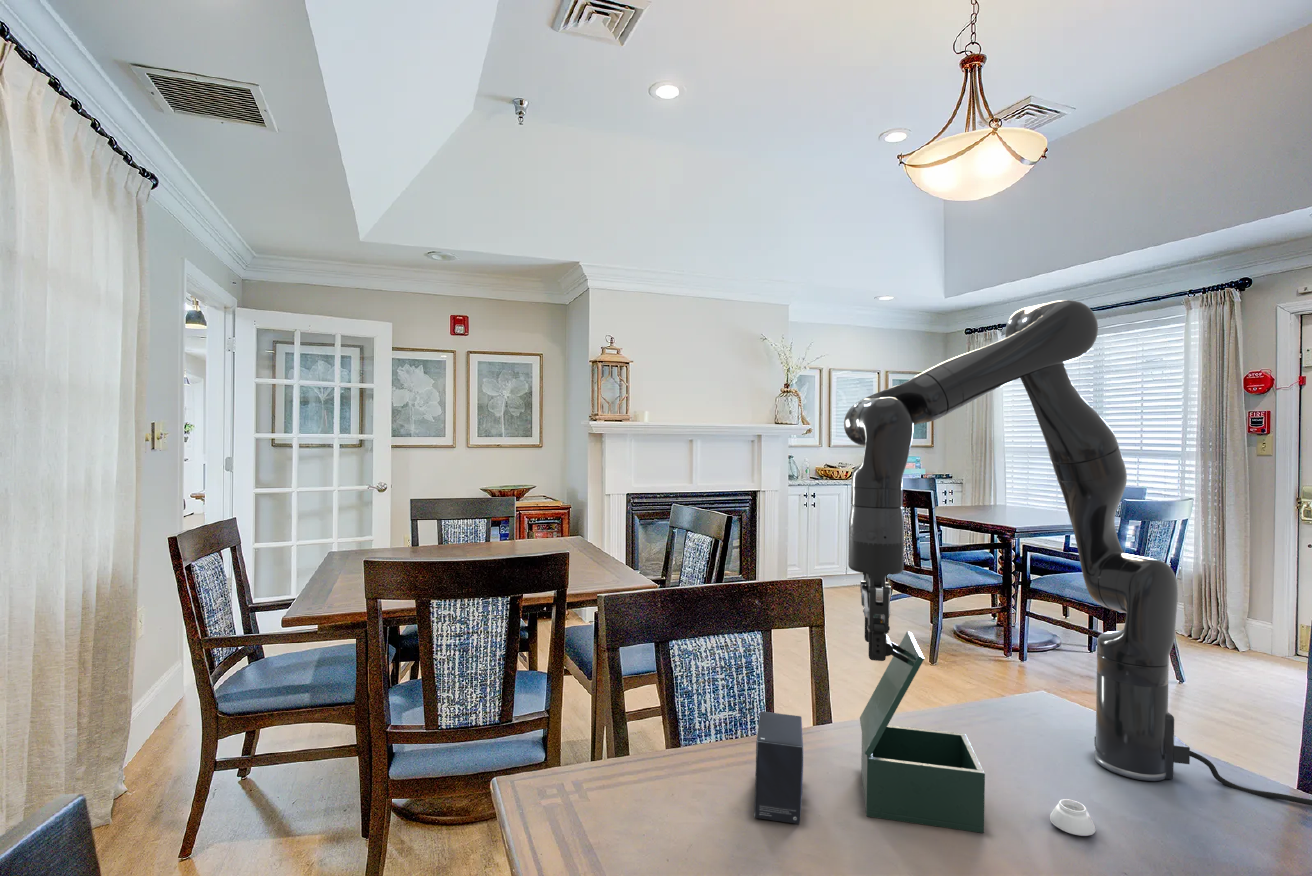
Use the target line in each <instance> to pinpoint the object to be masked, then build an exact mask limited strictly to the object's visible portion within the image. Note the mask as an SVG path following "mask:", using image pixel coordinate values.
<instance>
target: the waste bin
mask: <svg viewBox="0 0 1312 876" xmlns="http://www.w3.org/2000/svg"><path fill="white" fill-rule="evenodd" d="M860 756H861V757H860V758H861V761H860V763H861V766H860V774H861V782H862V783H861V784H862V791H863V798H864V809H865V815H866V817H868V818H876V819H884V820H890V821H898V822H904V823H909V824H910V823H911V824H918V825H923V826H925V825H926V826H930V827H938V828H946V829H952V830H961V831H966V832H974V833H980V834H985V794H986V793H985V792H986V791H985V790H986V789H985V787H986V773H985V771H984V769H983V767H982V765H981V763H980V761H979V759H978V757H977V755H976V752H975V751H974V748H973V747H972V744H971V742H970V741H969V739H968V735H967V734H966V733H962V732H955V731H953V732H952V731H944V730H934V729H926V728H917V727H909V726H900V725H890V724H888V726H887V727H886V729H885V731H884V733H883V735H882V736H881V738H880V740H879V742H878V744H877V745H876V747H875V749H874V751H873V753H872V754H871V756H870V757H869V756H868V755H866V754H865V752H864V745H863V738H862V737H861V755H860Z"/></svg>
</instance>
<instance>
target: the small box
mask: <svg viewBox="0 0 1312 876" xmlns="http://www.w3.org/2000/svg"><path fill="white" fill-rule="evenodd" d="M803 735H804V734H803V721H802V716H801V715H796V714H795V715H794V714H785V713H779V712H770V711H764V710H760V712H759V719H758V725H757V733H756V743H755V781H754V783H755V784H754V786H755V787H754V804H753V818H754V819H761V820H767V821H768V820H769V821H774V822H782V823H789V824H796V825H800V824H801V815H802V805H803V804H802V802H803V780H804V737H803Z"/></svg>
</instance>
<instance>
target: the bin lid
mask: <svg viewBox="0 0 1312 876" xmlns="http://www.w3.org/2000/svg"><path fill="white" fill-rule="evenodd" d="M891 656H892V658H891V660H890V661H889V663H888V665H887V667H886V669H885V671H884V673H883V674H882V676H881V678H880V680H879V682H878V683H877V685H876V687H875V689H874V691H873V693H872V694H871V696H870V698H869V700H868V701H867V703H866V705H865V707H864V709H863V711H862V713H861V715H860V716H859V722H860V729H861V739H862V738H863V745H864V752H865V754H866V755H868V756H869V757H870V756H871V754H872V753H873V751H874V749H875V747H876V745H877V744H878V742H879V740H880V738H881V736H882V735H883V733H884V731H885V729H886V727H887V726H888V725H890V722H891V720H892V718H893V717H894V715H895V713H896V711H897V710H898V708H899V705H900V704H901V702H902V700H903V699H904V696H905V695H906V693H907V691H908V690H909V688H910V686H911V684H912V683H913V681H914V679H915V677H916V676H917V673H918V672H919V670H920V668H921V666H922V664H923V662H924V661H925V657H924V655H923V653H922V651H921V649H920V647H919V645H918V643H917V641H916V639H915V636H914V634H913V632H911V631H908V630H907V631H906V632H905V634H904V636H903V638H902V640H901V642H900V644H899V645H898V644H897V643H895V642H893V641H891V639H890V636H889V635H888V634H886V657H891Z"/></svg>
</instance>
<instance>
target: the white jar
mask: <svg viewBox="0 0 1312 876" xmlns="http://www.w3.org/2000/svg"><path fill="white" fill-rule="evenodd" d="M1090 815H1091V814H1090V813H1089V812H1088V809H1087V807H1086V806H1085V805H1084V804H1083V803H1082V802H1079V801H1076V800H1074V799H1068V798H1062V799H1060V800H1059V802H1058V804H1056V806H1054V808H1053V810H1052V811H1051V813H1050V815H1049V820H1050V822H1051V823H1052V824H1053V826H1055V827H1056V828H1058V829H1060V831H1063V832H1065V833H1068V834H1070V835H1073V836H1078V837H1079V836H1081V837H1088V836H1093V835H1094V834H1095V833H1096V826H1095V823H1094V821H1093V819H1092V817H1091V816H1090Z"/></svg>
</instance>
